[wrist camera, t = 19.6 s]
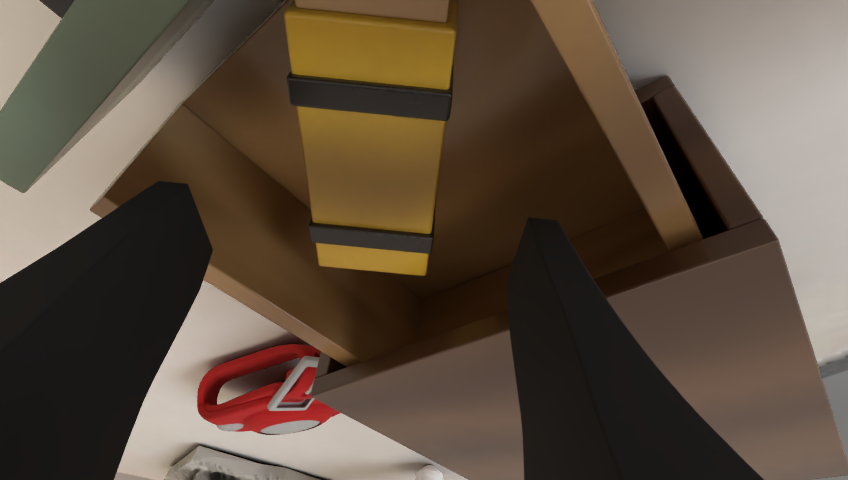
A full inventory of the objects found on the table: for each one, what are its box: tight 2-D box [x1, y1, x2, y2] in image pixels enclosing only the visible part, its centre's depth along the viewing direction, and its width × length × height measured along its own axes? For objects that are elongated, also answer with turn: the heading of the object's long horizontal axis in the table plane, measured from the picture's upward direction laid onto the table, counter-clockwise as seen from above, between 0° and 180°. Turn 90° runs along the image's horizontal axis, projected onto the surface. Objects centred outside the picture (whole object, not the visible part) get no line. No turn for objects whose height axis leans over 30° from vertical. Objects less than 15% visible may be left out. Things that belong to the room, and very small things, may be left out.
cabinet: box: [310, 76, 848, 480], centre depth 20 cm, size 16×14×7 cm
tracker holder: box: [197, 344, 341, 435], centre depth 29 cm, size 12×4×10 cm
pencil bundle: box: [284, 0, 457, 276], centre depth 12 cm, size 8×4×4 cm, turn 176°
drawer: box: [0, 0, 703, 367], centre depth 12 cm, size 20×13×6 cm, turn 38°
